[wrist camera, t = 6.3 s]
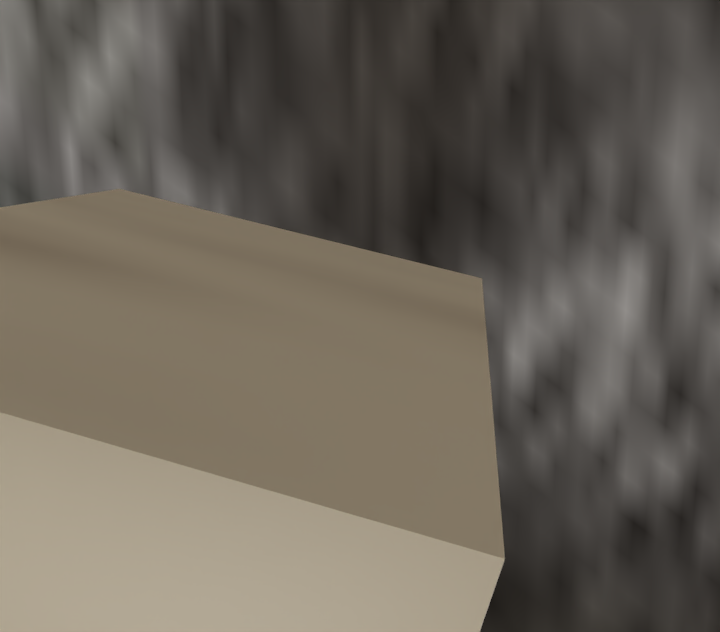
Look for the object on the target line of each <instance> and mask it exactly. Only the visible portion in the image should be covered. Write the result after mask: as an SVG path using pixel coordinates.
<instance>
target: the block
mask: <svg viewBox="0 0 720 632" xmlns="http://www.w3.org/2000/svg"><path fill="white" fill-rule="evenodd" d="M504 560H505V553H504V541H503V529H502V517H501V505H500V492H499V480H498V468H497V456H496V444H495V432H494V420H493V407H492V395H491V383H490V371H489V359H488V347H487V335H486V322H485V310H484V298H483V286H482V278H478V277H474V276H470V275H466V274H462V273H458V272H454V271H450V270H446V269H442V268H438V267H434V266H430V265H426V264H422V263H418V262H414V261H410V260H406V259H402V258H397V257H393V256H389V255H385V254H381V253H377V252H373V251H369V250H365V249H361V248H357V247H353V246H349V245H345V244H341V243H337V242H333V241H329V240H325V239H321V238H316V237H312V236H308V235H304V234H300V233H296V232H292V231H288V230H284V229H280V228H276V227H272V226H268V225H264V224H260V223H256V222H252V221H248V220H244V219H239V218H235V217H231V216H227V215H223V214H219V213H215V212H211V211H207V210H203V209H199V208H195V207H191V206H187V205H183V204H179V203H175V202H171V201H167V200H163V199H158V198H154V197H150V196H146V195H142V194H138V193H134V192H130V191H126V190H122V189H115V190H109V191H103V192H96V193H90V194H84V195H77V196H71V197H64V198H58V199H52V200H45V201H39V202H33V203H26V204H20V205H13V206H7V207H1V208H0V632H480V630H481V627H482V624H483V621H484V618H485V615H486V612H487V609H488V607H489V604H490V601H491V598H492V595H493V592H494V589H495V586H496V583H497V581H498V578H499V575H500V572H501V569H502V566H503V563H504Z"/></svg>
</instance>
